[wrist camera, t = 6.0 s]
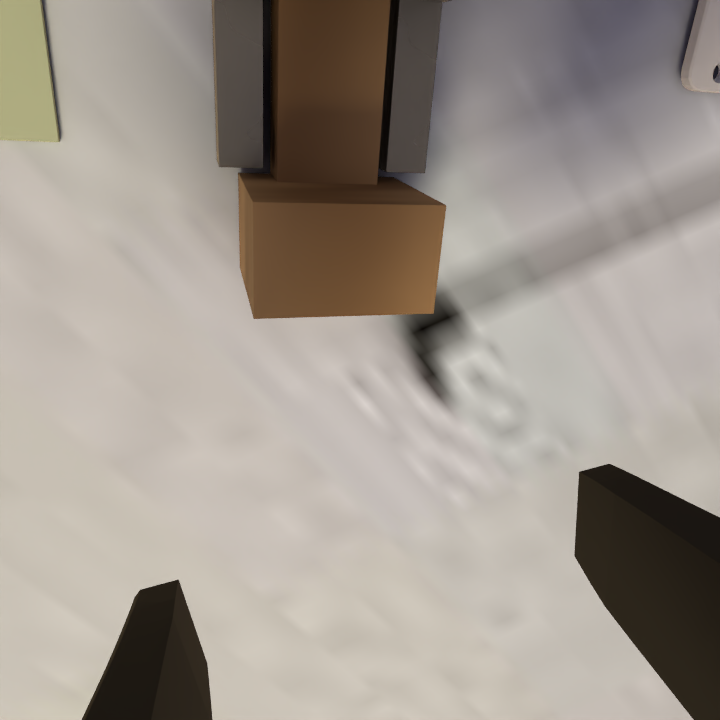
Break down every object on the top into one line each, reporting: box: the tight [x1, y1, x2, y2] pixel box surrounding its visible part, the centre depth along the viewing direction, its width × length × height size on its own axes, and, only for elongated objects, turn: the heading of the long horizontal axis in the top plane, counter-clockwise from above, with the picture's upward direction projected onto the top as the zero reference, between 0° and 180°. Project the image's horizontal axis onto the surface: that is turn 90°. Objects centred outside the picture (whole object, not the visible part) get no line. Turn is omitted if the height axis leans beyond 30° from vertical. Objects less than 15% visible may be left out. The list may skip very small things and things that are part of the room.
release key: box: [238, 0, 446, 319], centre depth 13 cm, size 4×8×4 cm, turn 176°
